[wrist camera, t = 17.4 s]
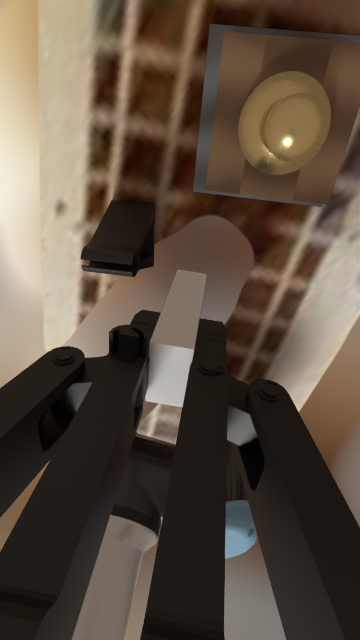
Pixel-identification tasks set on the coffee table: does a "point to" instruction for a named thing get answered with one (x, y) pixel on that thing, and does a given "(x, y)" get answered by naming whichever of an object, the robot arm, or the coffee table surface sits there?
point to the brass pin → (284, 123)
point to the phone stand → (122, 240)
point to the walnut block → (237, 85)
